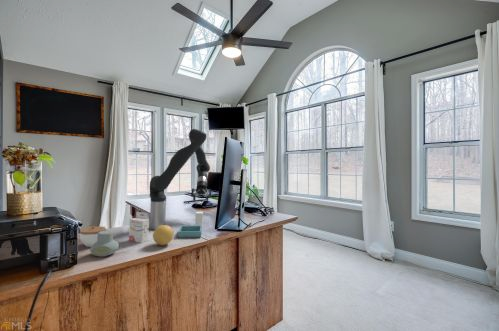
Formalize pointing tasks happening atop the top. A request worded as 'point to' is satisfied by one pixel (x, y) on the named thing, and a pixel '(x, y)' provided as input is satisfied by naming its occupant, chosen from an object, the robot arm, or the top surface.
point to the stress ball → (163, 235)
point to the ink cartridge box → (139, 228)
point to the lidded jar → (90, 235)
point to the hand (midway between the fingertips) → (200, 200)
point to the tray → (189, 231)
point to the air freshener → (104, 244)
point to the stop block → (199, 219)
